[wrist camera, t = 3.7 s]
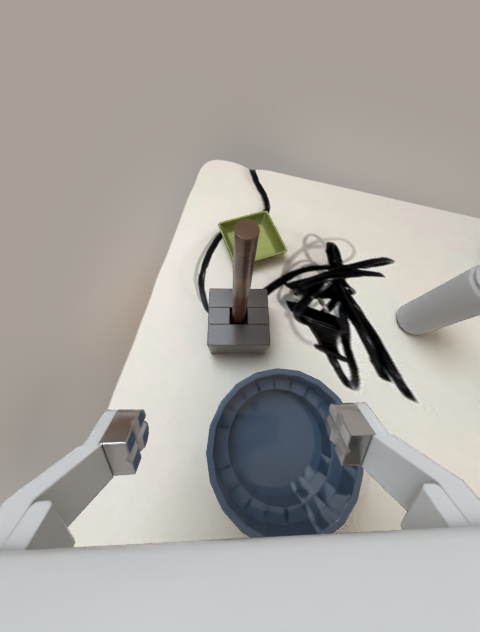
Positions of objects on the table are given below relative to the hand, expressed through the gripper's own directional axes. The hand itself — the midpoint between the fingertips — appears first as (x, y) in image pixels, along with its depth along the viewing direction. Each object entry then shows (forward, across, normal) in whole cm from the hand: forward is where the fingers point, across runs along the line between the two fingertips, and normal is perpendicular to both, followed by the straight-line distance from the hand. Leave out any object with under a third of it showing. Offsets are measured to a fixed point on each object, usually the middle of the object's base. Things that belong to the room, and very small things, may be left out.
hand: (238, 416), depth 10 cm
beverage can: (+22, -27, +7) cm, 35 cm away
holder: (+22, -1, +7) cm, 23 cm away
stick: (+22, -1, +7) cm, 23 cm away
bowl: (+11, -5, +17) cm, 21 cm away
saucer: (+32, -3, -3) cm, 32 cm away
